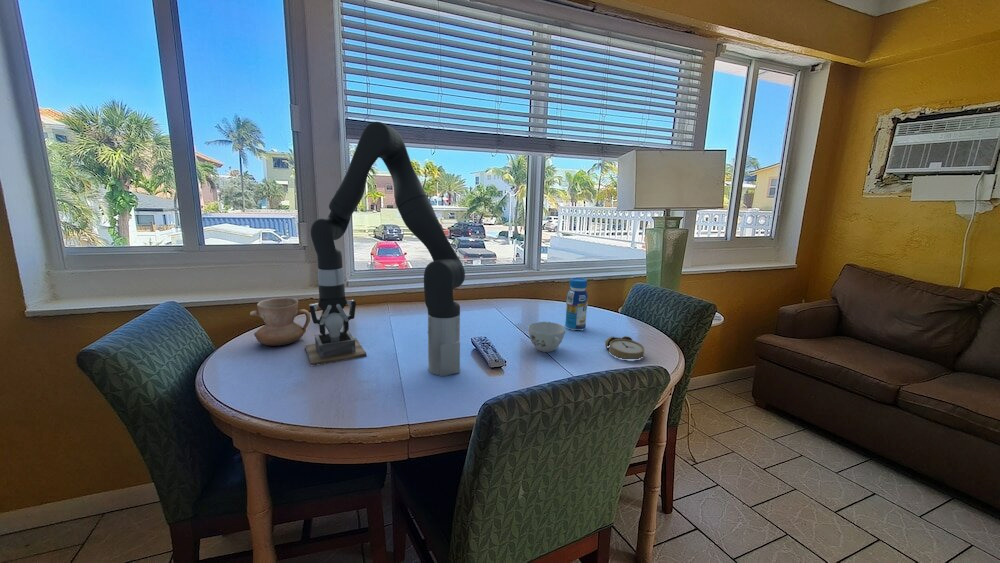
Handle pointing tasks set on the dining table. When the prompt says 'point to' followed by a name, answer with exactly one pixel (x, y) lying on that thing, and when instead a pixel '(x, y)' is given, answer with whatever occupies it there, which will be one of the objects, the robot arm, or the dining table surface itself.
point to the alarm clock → (624, 348)
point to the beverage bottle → (576, 304)
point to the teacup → (546, 335)
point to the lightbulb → (334, 325)
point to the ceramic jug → (279, 321)
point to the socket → (334, 349)
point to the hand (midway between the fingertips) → (334, 333)
